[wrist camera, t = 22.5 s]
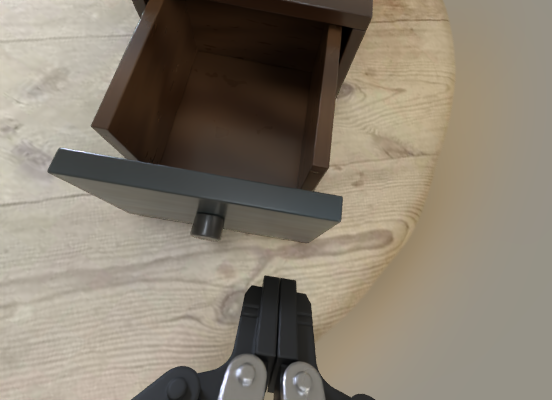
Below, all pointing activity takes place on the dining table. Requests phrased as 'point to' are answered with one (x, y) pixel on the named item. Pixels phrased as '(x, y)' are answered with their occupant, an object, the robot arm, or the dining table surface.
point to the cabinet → (319, 7)
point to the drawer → (218, 122)
